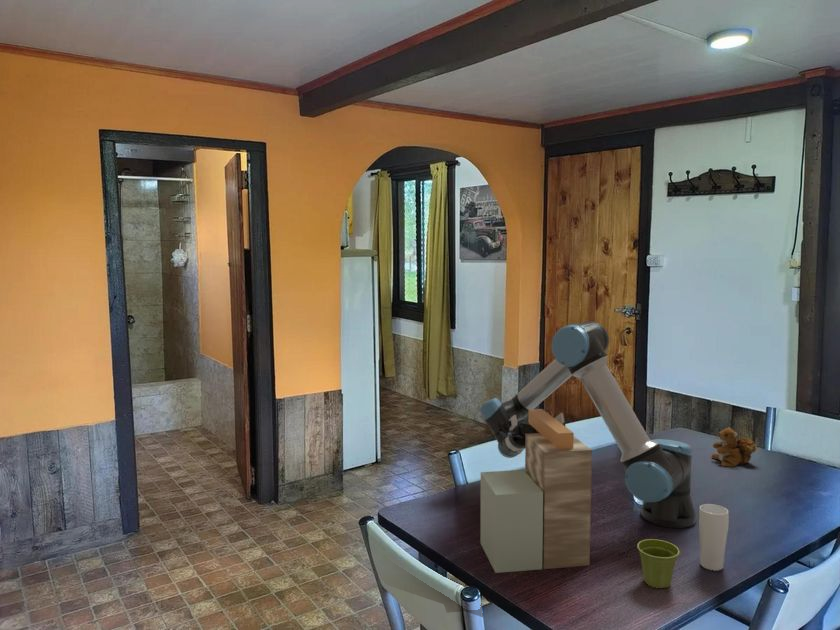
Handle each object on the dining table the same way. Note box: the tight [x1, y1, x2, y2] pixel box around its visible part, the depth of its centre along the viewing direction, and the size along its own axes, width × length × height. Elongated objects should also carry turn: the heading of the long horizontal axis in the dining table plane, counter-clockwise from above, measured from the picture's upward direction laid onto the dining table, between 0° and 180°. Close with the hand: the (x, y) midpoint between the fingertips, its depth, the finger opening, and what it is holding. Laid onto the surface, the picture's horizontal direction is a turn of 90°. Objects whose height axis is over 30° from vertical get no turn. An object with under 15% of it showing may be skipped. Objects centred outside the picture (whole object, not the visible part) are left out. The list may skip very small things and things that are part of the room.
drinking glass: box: [698, 503, 730, 572], centre depth 157 cm, size 7×7×15 cm
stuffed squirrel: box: [710, 427, 758, 467], centre depth 233 cm, size 10×14×13 cm
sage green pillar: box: [480, 469, 543, 574], centre depth 163 cm, size 16×12×20 cm
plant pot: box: [636, 538, 680, 589], centre depth 150 cm, size 9×9×9 cm
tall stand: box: [524, 433, 593, 570], centre depth 164 cm, size 16×12×30 cm
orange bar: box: [527, 408, 575, 449], centre depth 168 cm, size 24×4×4 cm, turn 8°
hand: (539, 418), depth 175 cm, fingers open, 13 cm apart
